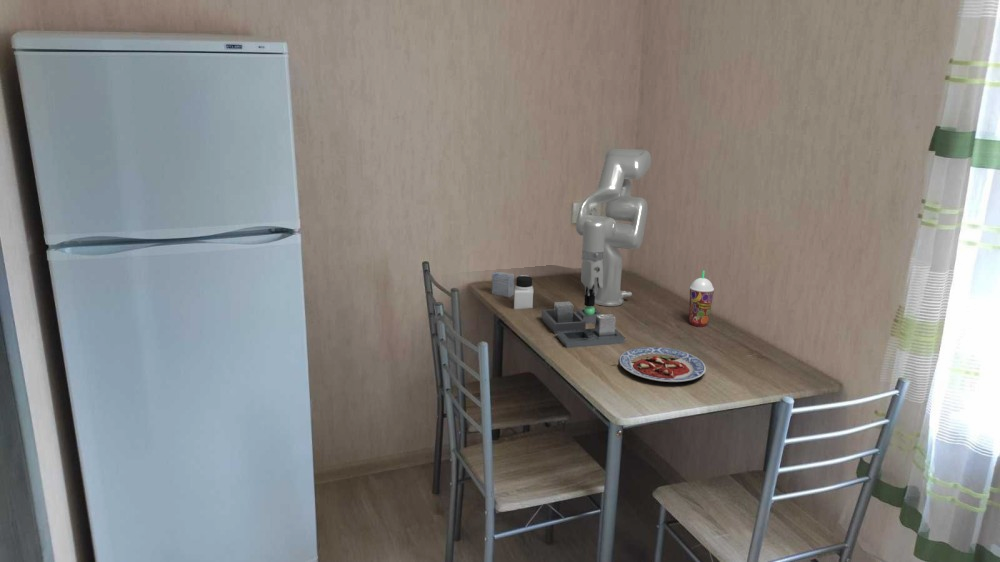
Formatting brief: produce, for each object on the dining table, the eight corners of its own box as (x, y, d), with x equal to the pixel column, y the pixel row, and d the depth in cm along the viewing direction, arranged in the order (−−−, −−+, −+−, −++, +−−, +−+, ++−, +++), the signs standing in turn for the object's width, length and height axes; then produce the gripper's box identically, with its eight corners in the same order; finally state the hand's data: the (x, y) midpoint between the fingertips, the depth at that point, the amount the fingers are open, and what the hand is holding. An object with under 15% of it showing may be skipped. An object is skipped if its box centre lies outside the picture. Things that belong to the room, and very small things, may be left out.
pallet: (612, 335, 246) (612, 327, 245) (624, 346, 237) (624, 337, 236) (556, 339, 242) (557, 331, 241) (566, 350, 232) (566, 342, 232)
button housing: (594, 318, 262) (595, 308, 261) (601, 325, 256) (602, 314, 254) (576, 319, 260) (576, 309, 259) (582, 326, 254) (583, 315, 253)
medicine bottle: (533, 310, 270) (534, 279, 266) (514, 309, 270) (514, 279, 266) (532, 304, 277) (533, 274, 273) (514, 303, 277) (514, 273, 273)
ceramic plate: (679, 396, 203) (680, 386, 202) (602, 369, 219) (603, 360, 218) (719, 369, 221) (720, 360, 220) (646, 347, 237) (647, 338, 237)
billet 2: (609, 336, 243) (611, 313, 240) (614, 340, 239) (615, 317, 237) (593, 337, 241) (595, 314, 239) (598, 341, 238) (599, 318, 235)
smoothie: (697, 329, 253) (703, 275, 248) (681, 322, 260) (686, 269, 255) (715, 325, 257) (721, 272, 251) (699, 318, 264) (704, 266, 258)
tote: (570, 319, 260) (571, 308, 259) (585, 334, 247) (585, 322, 245) (541, 321, 258) (542, 309, 257) (554, 336, 244) (555, 324, 243)
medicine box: (514, 295, 287) (514, 274, 284) (508, 298, 283) (508, 276, 281) (497, 291, 291) (498, 271, 288) (491, 294, 287) (492, 273, 285)
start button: (592, 315, 260) (592, 306, 259) (595, 318, 256) (596, 309, 255) (582, 315, 259) (583, 306, 258) (586, 319, 255) (586, 309, 254)
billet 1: (568, 322, 254) (569, 301, 252) (572, 326, 251) (573, 305, 248) (553, 323, 253) (554, 302, 251) (556, 327, 249) (557, 306, 247)
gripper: (610, 260, 245) (607, 311, 249) (594, 250, 258) (591, 299, 263) (590, 261, 243) (586, 312, 248) (575, 250, 257) (572, 299, 262)
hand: (589, 305), depth 256 cm, fingers closed
